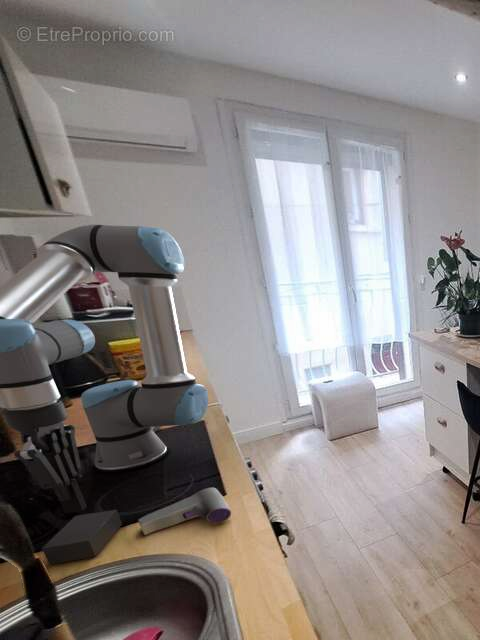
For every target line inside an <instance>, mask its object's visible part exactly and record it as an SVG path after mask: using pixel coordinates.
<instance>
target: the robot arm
mask: <svg viewBox="0 0 480 640" xmlns="http://www.w3.org/2000/svg"><path fill="white" fill-rule="evenodd" d="M184 270H185V257H184V254H183V252H182V250H181V247H180V245H179V244H178V242H177V241H176V239H174V237H173V236H172V235H171V234H170V233H169V232H167V231H166V230H164V229H161V228H158V227H150V226H143V225H108V224H107V225H106V224H87V225H86V224H85V225H81V226H77V227H74V228H71V229H68V230H65V231H63V232H62V233H59V234H57V235H55V236H53V237H52V238H50V239H49V240H47V241H46V242H44V243H43V244H42V245H40V246H39V247H38V248H37V250H36V257H35V258H34V259H32V260H31V261H30V262H29V263H28V264H26V265H25V266H24V267H22V268H21V269H19V271H18V272H16V273H15V274H13V275H12V276H11V277H10V278H8V279H7V280H6V281H5V282H4V283H2V284H1V285H0V408H2V410H1V411H0V413H1V415H2V418H3V420H4V422H5V424H6V426H7V428H8V429H10V430H14V431H17V432H19V434H20V441H21V443H22V444H23V447H22V449H21V450H16V451H14V454H13V456H14V458H17V459H18V460H19V461H21V462H22V463H23V465H24V466H25V468H27V470H28V471H29V473H30V474H31V475H32V477H33V478H34V479H35V481H36V482H37V483H38V485H39V486H40V488H41V489H43V490H48V489H54V491H55V495H56V496H57V499H58V500H59V502H60V504H61V505H60V506H61V507H62V509H63V512H64V514H70V513H77V512H83V511H84V510H85V509H86V508H87V507H88V506H87V504H86V502H85V499H84V496H83V493H82V491H81V489H80V486H79V484H78V482H77V479H81V478H82V477H83V473H79V472H82V465H81V460H80V455H79V451H78V446H77V441H76V435H75V434H76V427H75V425H74V424H68V425H67V424H66V425H65V424H64V421H65V420H67V418H68V416H69V415H68V413H67V410H66V407H65V405H64V403H63V401H62V400H60V398H61V394H60V392H59V389H58V387H57V385H56V381H55V380H54V377H53V374H52V372H51V369H50V367H49V366H50V365H54V364H56V363H61V362H63V361H66V360H71V359H73V358H77V357H80V356H82V355H83V354H86V353H88V352H90V351H91V350H92V349H93V348H94V347H95V345H96V338H95V335H94V333H93V331H92V329H90V328H89V327H88V325H86V324H84V323H83V322H81V321H78V320H75V319H68V318H67V319H66V318H65V319H53V320H51V321H47V322H44V321H43V322H36V321H38V319H40V317H41V316H42V315H44V314H45V312H46V311H48V310H49V309H50V308H51V307H52V306H53V305H54V304H55V303H57V301H58V300H60V298H61V297H62V296H63V295H65V294H66V293H67V292H68V291H69V290H70V289H71V288H72V287H73V286H74V285H75V284H76V283H77V282H80V281H86V280H88V279H89V278H90V277H92V276H93V275H96V274H100V273H117V277H118V280H120V281H121V282H122V283H124V284H125V285H126V286H127V287H128V290H129V295H130V300H131V305H132V309H133V310H132V311H133V315H134V320H135V325H136V329H137V335H138V338H139V339H138V340H139V343H140V348H141V353H142V358H143V363H144V367H145V368H144V369H145V372H146V376H145V377H144V378H143V379H142V380H141V381H140V384H141V386H139V385H140V384H139V383H138V382H137V380H133V379H125V380H118V381H113V382H108V383H104V384H100V385H97V386H93V387H91V388H88V389H86V390H85V391H83V392H82V394H81V396H80V400H81V404H82V409H83V410H84V412H85V416H86V418H87V421H88V423H89V426H90V428H91V431H92V433H93V436H94V438H95V441H96V446H95V453H94V454H95V455H94V465H95V468H96V471H98V472H100V473H101V472H102V473H120V472H122V473H123V472H128V471H133V470H137V469H140V468H144V467H147V466H150V465H153V464H154V463H156V462H159V461H160V460H162V459H163V458H165V457H166V455H167V454H168V449H167V446H166V445H165V443H164V442H163V440H161V439H160V437H159V436H158V435H157V434H156V432H157V431H158V430H159V429H160V428H161V427H171V426H173V427H174V426H176V427H182V426H188V425H194V424H197V423H199V422H200V421H202V419H203V418H204V417H205V415H206V413H207V411H208V407H209V393H208V391H207V389H206V387H205V386H204V385H203V384H200V383H197V382H196V377H195V376H194V375H192V374H191V373H189V372H188V368H187V364H186V358H185V353H184V347H183V342H182V337H181V331H180V326H179V321H178V315H177V310H176V305H175V300H174V295H173V290H172V289H173V285H175V284H176V283H177V282H178V278H177V275H180V274H182V273H183V272H184ZM153 427H154V429H153Z"/></svg>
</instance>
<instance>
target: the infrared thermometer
mask: <svg viewBox="0 0 480 640" xmlns="http://www.w3.org/2000/svg"><path fill="white" fill-rule="evenodd" d="M231 516H232V510H231V508H230V507H229V505H228V503H227V502H226V500H225V498H224V496H223V495H222V494H221V492H220V491H219V490H218V489H217V488H215V487H206V488H203V489H201V490H198V491H197V492H195V493H194V494H192V495H191V496H189V497H186V498H184V499H181V500H179V501H177V502H175V503H173V504H170V505H168V506H165V507H162V508H160V509H158V510H156V511H153V512H151V513H147V515H144V516H142V517H140V518H138V519H137V522H138V524H139V526H140V528H141V530H142V532H143V534H144V536H147V535H148V534H152V533H153V532H156V531H160V530H162V529H166V528H168V527H172V526H175V525H178V524H180V523H183V522H185V521H189V520H191V519H196V518H198V517H200V518H203V519H204V520H205V521H207V522H209V523H214V524H217V523H222V522H225V521H227V520H228V519H229V518H230V517H231Z"/></svg>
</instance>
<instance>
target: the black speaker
mask: <svg viewBox="0 0 480 640" xmlns="http://www.w3.org/2000/svg"><path fill="white" fill-rule="evenodd" d="M121 526H123V523H122V520H121V518H120V514H119V513H118V510H117V509H112V510H106V511H98V512H91V513H85V514H78V515H75V516H73V517H72V519H71V520H69V521H68V522H67V523H66V524H65V525H64V526H63V527H62V528H61V529H60V530H59V531H58V532H57V533H56V534H55V535H54V536H53V537H52V538H50V540H49V541H48V542H46V544H45V545H43V547H41V550H42V552H43V555H44V557H45V559H46V561H47V563H48V565H49V566H50V565H56V564H60V563H61V564H62V563H66V562H72V561H77V560H84V559H90V558H94V557H97V555H99V553H100V552H101V551H102V549H103V548H104V547H105V546H106V545H107V543H108V542H109V541H110V540H111V539H112V537H113V536H114V535H115V534H116V532H117V531H118V530H119V529H120V528H121Z"/></svg>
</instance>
